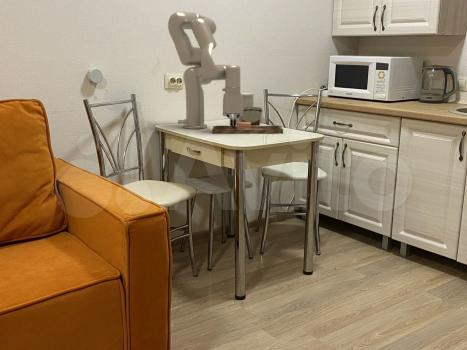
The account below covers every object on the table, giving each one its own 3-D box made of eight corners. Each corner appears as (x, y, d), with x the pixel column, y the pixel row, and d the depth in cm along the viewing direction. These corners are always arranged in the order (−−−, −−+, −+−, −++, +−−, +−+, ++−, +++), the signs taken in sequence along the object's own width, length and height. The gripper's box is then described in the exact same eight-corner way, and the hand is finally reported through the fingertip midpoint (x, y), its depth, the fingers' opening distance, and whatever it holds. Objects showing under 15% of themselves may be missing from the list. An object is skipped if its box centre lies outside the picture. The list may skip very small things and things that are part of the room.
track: (212, 133, 255) (212, 129, 255) (213, 129, 267) (213, 125, 267) (283, 133, 255) (283, 129, 254) (280, 129, 267) (281, 125, 267)
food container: (262, 125, 283) (263, 107, 281) (262, 126, 277) (262, 108, 275) (240, 124, 284) (240, 106, 282) (239, 126, 278) (239, 108, 276)
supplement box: (249, 122, 295) (249, 92, 291) (254, 124, 286) (254, 93, 282) (233, 122, 293) (233, 92, 289) (237, 125, 284) (237, 94, 280)
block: (236, 132, 258) (236, 123, 257) (236, 130, 265) (236, 122, 264) (250, 132, 258) (250, 123, 257) (250, 130, 265) (250, 122, 264)
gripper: (217, 91, 253) (218, 128, 257) (247, 91, 252) (247, 128, 257) (218, 90, 260) (218, 126, 264) (247, 90, 260) (247, 126, 264)
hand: (233, 127), depth 261 cm, fingers closed
